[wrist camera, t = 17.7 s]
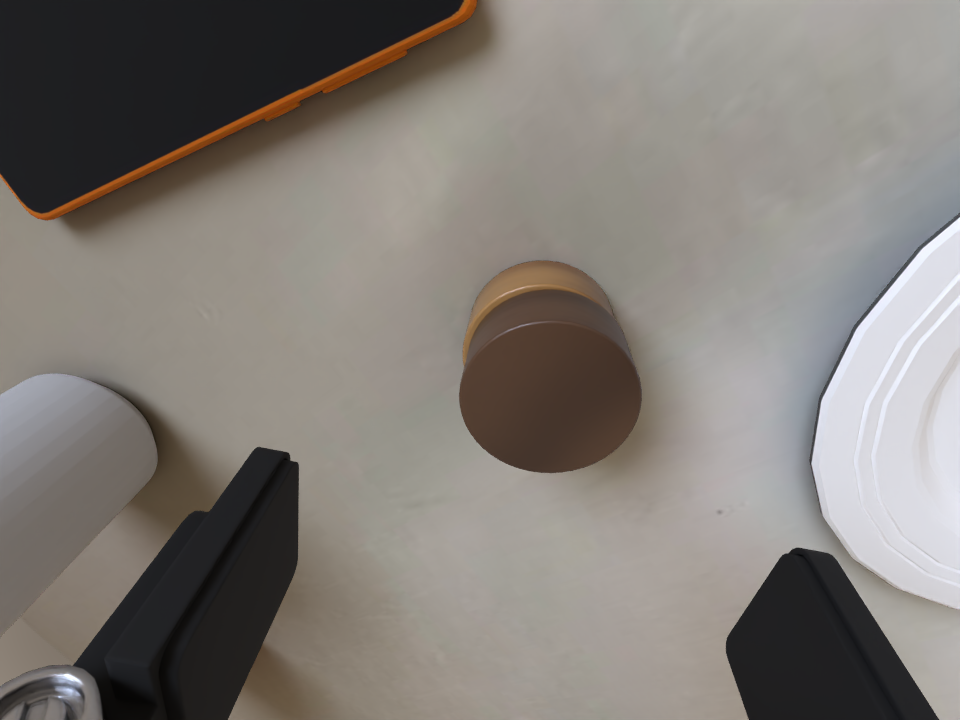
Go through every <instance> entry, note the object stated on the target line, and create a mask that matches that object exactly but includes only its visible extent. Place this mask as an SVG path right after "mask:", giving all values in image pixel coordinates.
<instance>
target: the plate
mask: <svg viewBox="0 0 960 720" xmlns="http://www.w3.org/2000/svg"><path fill="white" fill-rule="evenodd" d="M810 465H811V469H812V474H813V478H814V483H815V487H816V492H817V497H818V501H819V506H820V510H821V513H822V515H823V517H824V518H825V520H826V521H827V523H828V524H829V526H830V527H831V528H832V530H833V531H834V533H835V534H836V536H837V537H838V538H839V540H840V541H841V543H842V544H843V546H844V547H845V548H846V550H847V551H848V553H849V554H850V556H851V557H852V558H853V559H855V560H856V561H858V562H859V563H860V564H862V565H863V566H865V567H866V568H868V569H869V570H870V571H872V572H873V573H875V574H876V575H878V576H879V577H880V578H882V579H883V580H885V581H886V582H888V583H889V584H890V585H892V586H893V587H895V588H896V589H899V590H902V591H905V592H908V593H911V594H913V595H916V596H919V597H922V598H925V599H928V600H930V601H933V602H936V603H939V604H942V605H945V606H947V607H950V608H954V609H960V213H959V214H958V215H957V216H955V217H954V218H953V219H952V220H951V221H949V222H948V223H947V224H946V225H945V226H943V227H942V228H941V229H940V230H939V231H937V232H936V233H935V234H934V235H933V236H931V237H930V238H929V239H928V240H927V241H925V242H924V243H923V244H922V245H921V246H919V247H918V249H917V250H916V251H915V252H914V254H913V255H912V256H911V257H910V258H909V260H908V261H907V262H906V263H905V265H904V266H903V267H902V268H901V269H900V271H899V272H898V273H897V274H896V276H895V277H894V278H893V279H892V280H891V282H890V283H889V284H888V285H887V287H886V288H885V289H884V290H883V291H882V293H881V294H880V295H879V296H878V298H877V299H876V300H875V301H874V302H873V304H872V305H871V306H870V307H869V309H868V310H867V311H866V312H865V313H864V315H863V316H862V317H861V318H860V320H859V321H858V322H857V323H856V324H855V326H854V328H853V330H852V332H851V334H850V336H849V338H848V340H847V342H846V344H845V346H844V348H843V350H842V352H841V354H840V356H839V359H838V361H837V363H836V365H835V367H834V369H833V371H832V373H831V375H830V377H829V379H828V381H827V383H826V385H825V387H824V389H823V391H822V393H821V396H820V398H819V403H818V410H817V416H816V423H815V429H814V436H813V442H812V448H811V455H810Z"/></svg>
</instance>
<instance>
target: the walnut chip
mask: <svg viewBox="0 0 960 720" xmlns="http://www.w3.org/2000/svg"><path fill="white" fill-rule="evenodd" d="M459 401H460V408H461V413H462V416H463V419H464V422H465V424H466V426H467V428H468V430H469V432H470V433H471V435H472V436H473V437H474V439H475V440H476V441H477V442H478V443H479V444H480V446H481V447H482V448H483V449H485V450H486V451H487V452H488V453H490V454H491V455H492V456H494V457H495V458H497V459H499V460H500V461H502V462H504V463H506V464H508V465H511V466H514V467H516V468H519V469H523V470H527V471H533V472H540V473H559V472H567V471H573V470H577V469H580V468H584V467H586V466H589V465H592V464H594V463H596V462H598V461H600V460H602V459H603V458H605V457H606V456H608V455H609V454H611V453H612V452H613V451H614V450H616V449H617V448H618V447H619V446H620V445H621V444H622V443H623V442H624V440H625V439H626V438H627V437H628V435H629V434H630V432H631V431H632V429H633V427H634V425H635V423H636V421H637V419H638V415H639V412H640V408H641V401H642V389H641V383H640V378H639V375H638V373H637V370H636V367H635V364H634V361H633V358H632V356H631V353H630V350H629V347H628V344H627V341H626V339H625V336H624V333H623V331H622V329H621V328H620V326H619V324H618V323H617V321H616V320H615V319H614V317H613V316H612V315H611V314H610V313H609V312H608V311H607V310H606V309H604V308H603V307H602V306H600V305H599V304H598V303H596V302H594V301H593V300H591V299H589V298H587V297H584V296H582V295H579V294H577V293H573V292H569V291H563V290H552V289H544V290H535V291H530V292H526V293H522V294H519V295H517V296H514V297H511V298H510V299H508V300H506V301H504V302H502V303H501V304H499V305H498V306H496V307H495V308H494V309H492V310H491V311H490V312H489V313H488V314H487V315H486V316H485V317H484V319H483V320H482V321H481V322H480V323H479V325H478V327H477V328H476V330H475V332H474V334H473V336H472V339H471V341H470V345H469V349H468V354H467V358H466V362H465V366H464V371H463V375H462V379H461V384H460V392H459Z"/></svg>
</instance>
